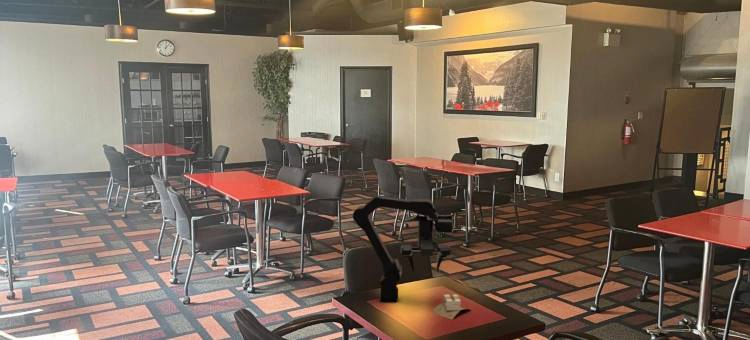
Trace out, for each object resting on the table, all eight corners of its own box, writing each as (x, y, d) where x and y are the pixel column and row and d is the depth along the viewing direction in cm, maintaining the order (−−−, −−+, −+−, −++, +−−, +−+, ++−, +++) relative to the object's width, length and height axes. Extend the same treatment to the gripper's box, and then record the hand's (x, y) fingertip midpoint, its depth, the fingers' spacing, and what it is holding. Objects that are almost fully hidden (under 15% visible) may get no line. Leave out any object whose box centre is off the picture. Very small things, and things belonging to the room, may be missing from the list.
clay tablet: (451, 322, 208) (451, 315, 207) (428, 315, 214) (428, 308, 214) (473, 311, 218) (473, 304, 218) (450, 305, 225) (450, 298, 225)
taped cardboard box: (444, 303, 219) (444, 294, 219) (457, 303, 219) (457, 294, 219) (446, 310, 212) (447, 300, 212) (460, 310, 212) (460, 300, 212)
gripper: (402, 236, 215) (401, 277, 217) (452, 237, 215) (451, 278, 217) (400, 230, 226) (400, 269, 228) (449, 230, 226) (448, 269, 228)
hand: (425, 271), depth 225 cm, fingers open, 9 cm apart
